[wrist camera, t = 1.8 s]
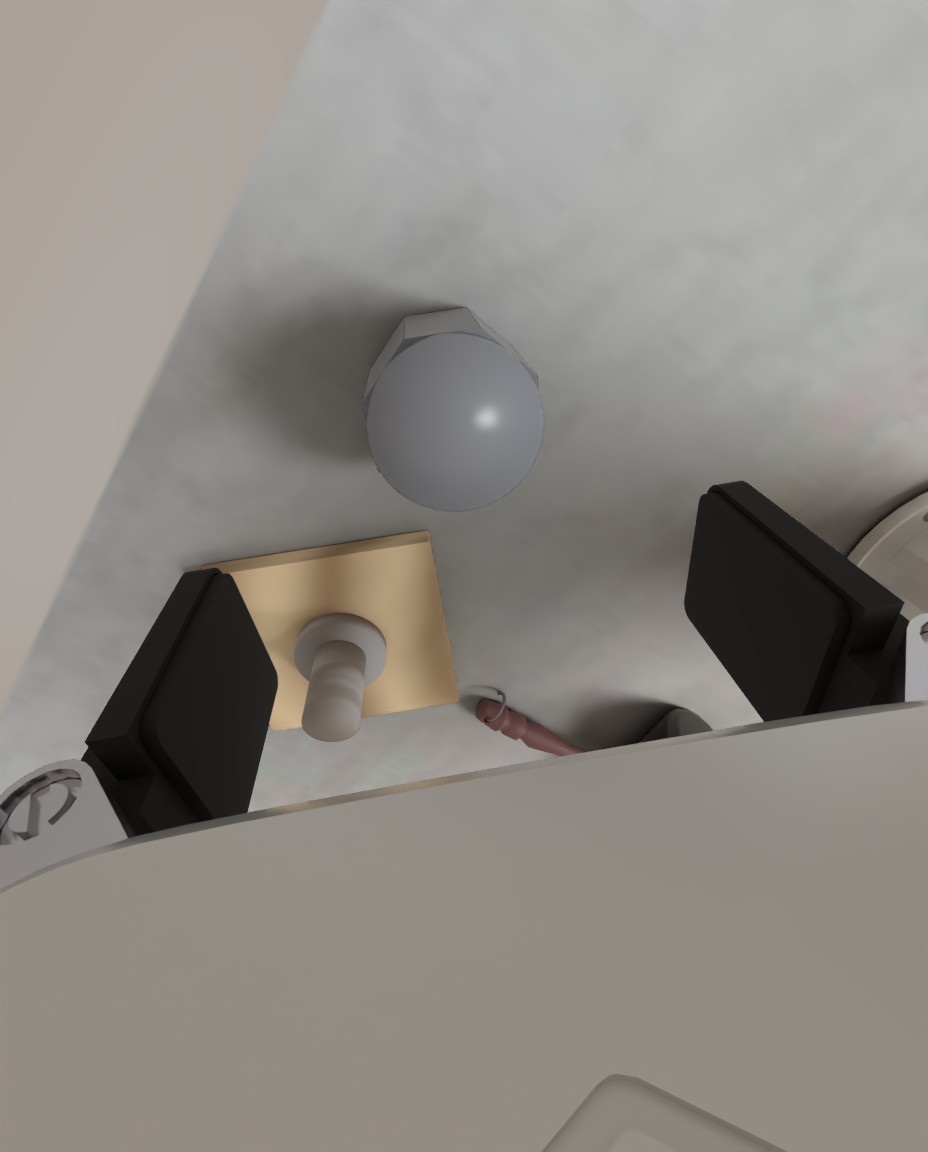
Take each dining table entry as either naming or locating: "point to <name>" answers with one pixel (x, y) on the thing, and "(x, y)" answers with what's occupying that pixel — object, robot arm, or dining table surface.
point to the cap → (452, 412)
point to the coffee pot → (544, 740)
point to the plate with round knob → (349, 631)
